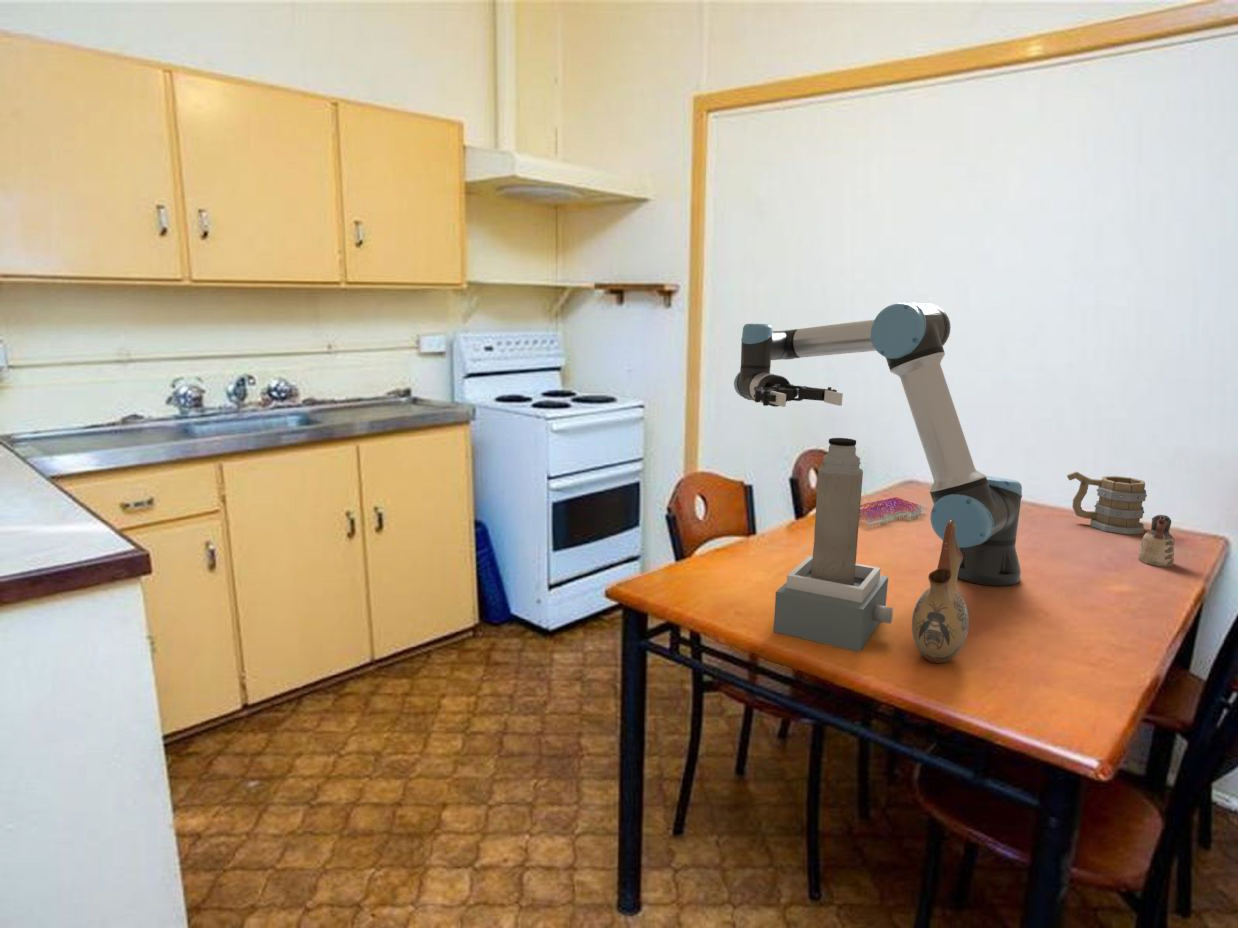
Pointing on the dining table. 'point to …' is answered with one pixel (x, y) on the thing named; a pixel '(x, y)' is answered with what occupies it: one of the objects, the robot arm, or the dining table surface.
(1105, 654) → the dining table surface
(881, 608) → the box
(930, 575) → the ceramic vessel
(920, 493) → the dining table surface
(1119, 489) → the tankard
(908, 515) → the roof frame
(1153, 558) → the figurine
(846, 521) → the thermos bottle
